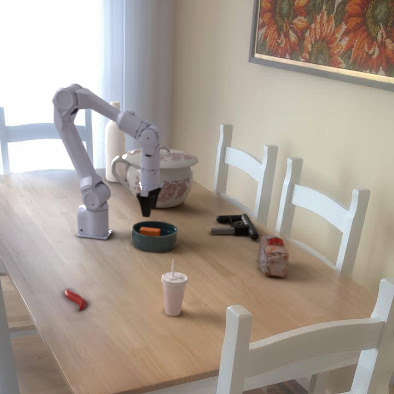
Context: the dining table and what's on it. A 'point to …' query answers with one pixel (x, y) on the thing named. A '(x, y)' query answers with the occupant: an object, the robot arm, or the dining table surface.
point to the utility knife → (149, 231)
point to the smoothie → (174, 291)
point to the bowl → (154, 243)
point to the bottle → (114, 147)
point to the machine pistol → (236, 226)
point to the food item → (273, 256)
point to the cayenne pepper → (76, 299)
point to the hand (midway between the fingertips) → (148, 212)
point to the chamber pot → (161, 174)
